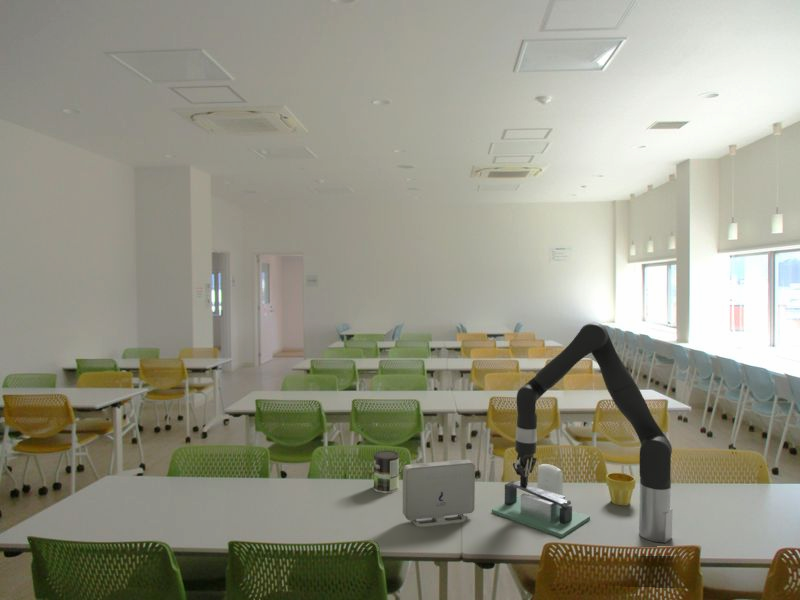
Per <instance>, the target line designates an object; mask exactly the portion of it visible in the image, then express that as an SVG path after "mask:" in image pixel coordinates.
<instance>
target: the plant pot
mask: <svg viewBox="0 0 800 600" xmlns="http://www.w3.org/2000/svg"><path fill="white" fill-rule="evenodd" d="M605 480H606V481H605V483H606V485H607V487H608V490H609V497H610V501H611V503H612V504H614V505H618V506H628V505H630V504H631V500H632V499H631V498H632V496H633V492H634V489H635V488H636V477H634V476H633V475H631V474H628V473H623V472H622V473H621V472H610V473H607V474H606V475H605Z"/></svg>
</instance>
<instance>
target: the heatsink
mask: <svg viewBox="0 0 800 600" xmlns="http://www.w3.org/2000/svg"><path fill="white" fill-rule="evenodd" d="M515 482H516V481H513V480H512V481H509V482H508V483H506V484H504V503H505V504H506V505H511V504H513V503H515V502H517V497H518V494H517V493H518V488H516V487H514V486H513V483H515ZM537 488H538V487H537ZM538 489H539V488H538ZM540 490H542V489H540ZM543 491H545V490H543ZM545 492H548V493H550V494H552V495H555V496H557V497H560V498H562V499H565V500H566V496H565V495H563V496H562V495H559V494H555V493H552V492H549V491H545ZM520 495H521V513H523V514H526V515H529V516H532V517H535V518H537V519H540V520H543V521H546V522H549V523H551V522H553V521H555V520H557V519H558V518H560V523H562V524H566V523H568V522H570V521H571V520H572V511H573V506H572V505H568V506H567V507H565V508H562V507H561V506H559V505H556V504H554V503H552V502H549V501H547V500H545V499H542V498H540V497H537V496H535V495H533V494H530V493H528V494H526V493H522V494H520Z"/></svg>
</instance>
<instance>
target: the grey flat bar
mask: <svg viewBox="0 0 800 600" xmlns="http://www.w3.org/2000/svg"><path fill="white" fill-rule="evenodd" d="M514 482H515V483H513V486H514V487H516V488H517V490H518V489H519V490H521V491H523V492H526V493H528V494H533V495H535V496H537V497H540V498H542V499H545V500H547V501H549V502H552V503H554V504H556V505H559V506H561V507H562V508H565V507H567V506H568V505H569V506H571V504H572V501H571V500H567V499H566V498H565V499H562V498H560V497H557V496H555V495H552V494H550V493H548V492H545V491H543V490H540V489H538V487H536V486H533V485H531V484H528V485H527V486H525V487H524V486H521V485H520V480H518V481H514Z"/></svg>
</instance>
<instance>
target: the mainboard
mask: <svg viewBox="0 0 800 600" xmlns="http://www.w3.org/2000/svg"><path fill="white" fill-rule="evenodd" d="M521 495H522V494H520V495H517V502H515V503H513V504H511V505H506V504H505V502H504V503H501V504H500V505H498V506H495V507H494V508H492V509H491V514H494V515H497V516H500V517H503V518H506V519H508V520H511V521H513V522H517V523H519V524H522V525H525V526H528V527H530V528H534V529H537V530H539V531H542V532H545V533H547V534H551V535H553V536H555V537H559V538H564V537H565V536H567V535H569V534H570V533H571V532H573V531H575V530H576V529H578V528H579V527H581V526H582V525H584V524H585V523H587V522H588V521H590V520H591V516H590V515H588V514H585V513H582V512H581V513H580V512H578V511H575V510H572V520H571V521H570V522H568V523H566V524H562V523H560V518H558V519H557V520H555V521H553V522H551V523H549V522H546V521H543V520H540V519H537V518H535V517H532V516H529V515H526V514H523V513H521Z"/></svg>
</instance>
